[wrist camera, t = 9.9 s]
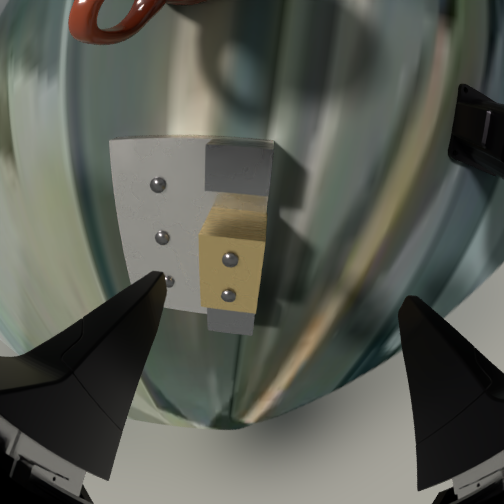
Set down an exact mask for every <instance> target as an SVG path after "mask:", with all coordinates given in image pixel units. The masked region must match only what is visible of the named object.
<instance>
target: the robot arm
mask: <svg viewBox="0 0 504 504" xmlns="http://www.w3.org/2000/svg"><path fill="white" fill-rule="evenodd" d="M464 88H465V92H464ZM453 151H455V153H454V154H453ZM448 155H449V156H450V157H451V158H453V159H455V160H458V161H460V162H463V163H465V164H468V165H470V166H473V167H475V168H477V169H480V170H482V171H484V172H486V173H489V174H491V175H493V176H496V175H498V176H499V177H501V178H502V179H504V104H500V103H496V102H494V101H493V100H491V99H490V98H488V97H487V96H485V95H483V94H482V93H480V92H479V91H477V90H475V89H473V88H472V87H470V86H468V85H466V84H460V85H459V88H458V97H457V104H456V109H455V116H454V122H453V127H452V134H451V139H450V144H449V148H448ZM166 296H167V286H166V280H165V274H164V273H163V272H161V271H151V272H150V273H148V274H147V275H145V276H144V277H142V278H141V279H139V280H137V281H136V282H134V283H133V284H131V285H130V286H128V287H127V288H125V289H124V290H122V291H121V292H119V293H118V294H116V295H115V296H113V297H112V298H110V299H109V300H107V301H106V302H105V303H103V304H102V305H100V306H99V307H97V308H96V309H94V310H93V311H91V312H90V313H89V314H87V315H86V316H84V317H83V319H80V320H78V321H77V322H76V323H74V324H73V325H71V326H70V327H68V328H67V329H65V330H64V331H62V332H60V333H59V334H57V335H56V336H54V337H52V338H51V339H49V340H47V341H46V342H44V343H42V344H41V345H39V346H37V347H35V348H34V349H32V350H30V351H29V352H27V353H25V354H23V355H20V356H16V357H1V356H0V504H94V503H93V502H92V500H91V498H90V497H89V495H88V493H87V491H86V489H85V488H84V486H83V480H84V477H85V474H86V472H88V473H91V474H93V475H95V476H97V477H100V478H102V479H104V480H107V481H109V478H110V474H111V471H112V467H113V463H114V460H115V456H116V452H117V449H118V446H119V442H120V439H121V435H122V431H123V428H124V425H125V422H126V419H127V416H128V412H129V409H130V406H131V403H132V400H133V397H134V394H135V391H136V388H137V385H138V382H139V380H140V377H141V374H142V371H143V368H144V366H145V363H146V360H147V357H148V355H149V352H150V349H151V346H152V344H153V341H154V339H155V336H156V333H157V330H158V326H159V322H160V318H161V315H162V311H163V307H164V303H165V300H166ZM398 320H399V328H400V335H401V344H402V351H403V356H404V361H405V366H406V372H407V377H408V383H409V390H410V396H411V403H412V411H413V419H414V426H415V427H414V428H415V439H416V455H417V489H418V491H421V490H424V489H427V488H429V487H432V486H435V485H437V484H440V483H442V482H445V481H447V480H450V479H452V480H453V487H451V488H449V489H446V490H444V491H442V492H439V493H438V495H437V497H436V499H435V500H434V501H433V503H432V504H504V373H503V372H502V371H500V370H499V369H498V368H497V367H496V366H495V365H494V364H492V363H491V362H490V361H489V360H488V359H487V358H486V357H485V356H484V355H483V354H482V353H480V352H479V351H478V350H477V349H476V348H475V347H474V346H473V345H472V344H471V343H470V342H469V341H468V340H467V339H466V338H464V337H463V336H462V335H461V334H460V333H459V332H458V331H457V330H456V329H455V328H453V327H452V326H451V325H450V324H449V323H448V322H447V321H446V320H444V319H443V318H442V317H441V316H440V315H439V314H438V313H436V312H435V311H434V310H433V309H432V308H431V307H429V306H428V305H427V304H426V303H425V302H423V301H422V300H421V299H420V298H419V297H417V296H412V295H409V296H407V297H406V298H405V300H404V302H403V304H402V306H401V308H400V309H399V312H398Z"/></svg>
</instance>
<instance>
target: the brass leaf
mask: <svg viewBox="0 0 504 504" xmlns="http://www.w3.org/2000/svg"><path fill="white" fill-rule="evenodd" d="M266 227H267V213H261V212H252V211H243V210H234V209H224V208H213V207H212V208H211V210H210V212H209V214H208V216H207V218H206V220H205V222H204V224H203V226H202V228H201V230H200V232H199V234H198V237H199V276H200V299H201V307H207V308H214V309H222V310H230V311H238V312H246V313H255V314H256V309H257V301H258V294H259V287H260V280H261V272H262V265H263V257H264V250H265V242H266Z"/></svg>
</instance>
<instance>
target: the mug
mask: <svg viewBox="0 0 504 504" xmlns="http://www.w3.org/2000/svg"><path fill="white" fill-rule="evenodd" d="M204 1H207V0H135V1H134V3H133V6H132V8H131V10H130V12H129V13H128V15H127V16H126V17H125V18H124V19H123V20H122V21H121V22H120V23H119V24H117V25H116V26H114V27H112V28H108V29H100V28H98V26H97V16H98V12H99V10H100V7H101V5H102V3H103V2H104V0H74V3H73V6H72V8H71V11H70V15H69V23H68V24H69V30H70V33H71V35H72V36H73V38H75V39H76V40H78V41H80V42H83V43H87V44H94V45H111V44H116V43H120V42H122V41H125V40H127V39H129V38H130V37H132V36H134V35H135V34H136V33H138V32H139V31H140V30H141V29H142V28H143V27H144V26H145V25H146V24H147V22H148V21H149V20H150V19H151V18H152V17H153V16H155V15H156V14H157V13H158V12H159V11H160V10H161V8H162V7H163V6H164V5H165V3H167V4H173V5H193V4H197V3H201V2H204Z"/></svg>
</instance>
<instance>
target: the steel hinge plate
mask: <svg viewBox="0 0 504 504" xmlns="http://www.w3.org/2000/svg"><path fill="white" fill-rule="evenodd" d="M109 145H110V159H111V170H112V179H113V188H114V196H115V203H116V210H117V217H118V223H119V229H120V234H121V240H122V245H123V250H124V255H125V260H126V264H127V269H128V273H129V278H130V282H131V284H133V283H134V282H136V281H137V280H139V279H141V278H142V277H144V276H145V275H147V274H148V273H150V272H151V271H161V272H163V273H164V274H165V280H166V286H167V296H166V300H165V303H164V307H165V308H171V309H177V310H184V311H190V312H197V313H204V314H207V320H208V330H211V331H218V332H226V333H234V334H243V335H252V334H253V326H254V318H255V313H246V312H238V311H230V310H222V309H214V308H207V307H201V299H200V276H199V237H198V234H199V232H200V230H201V228H202V226H203V224H204V222H205V220H206V218H207V216H208V214H209V212H210V210H211V208H212V207H213V208H224V209H234V210H243V211H252V212H261V213H266V211H267V202H268V197H269V189H270V180H271V171H272V161H273V152H274V141H273V140H264V139H253V138H240V137H224V136H198V135H153V136H129V137H116V138H114V139H111V140H109Z"/></svg>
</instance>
